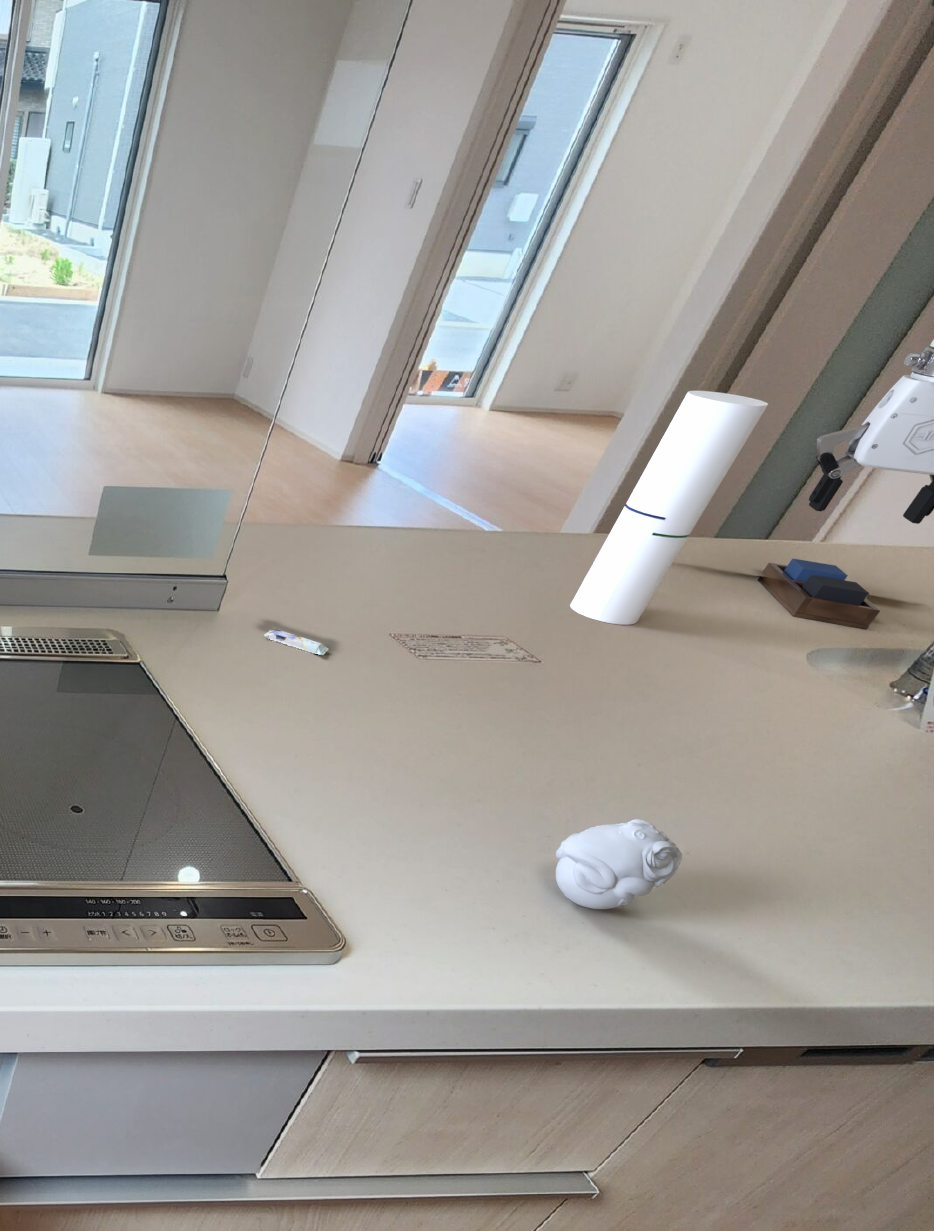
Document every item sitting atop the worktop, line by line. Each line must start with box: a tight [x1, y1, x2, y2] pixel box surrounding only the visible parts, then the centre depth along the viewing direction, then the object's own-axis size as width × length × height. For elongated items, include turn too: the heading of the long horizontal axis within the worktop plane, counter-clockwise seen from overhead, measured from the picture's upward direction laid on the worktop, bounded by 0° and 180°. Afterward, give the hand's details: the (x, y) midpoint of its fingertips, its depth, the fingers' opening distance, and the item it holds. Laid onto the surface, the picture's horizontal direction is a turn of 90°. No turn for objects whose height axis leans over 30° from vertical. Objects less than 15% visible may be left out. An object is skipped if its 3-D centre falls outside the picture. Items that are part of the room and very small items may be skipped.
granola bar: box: [263, 629, 329, 656], centre depth 106 cm, size 7×2×1 cm, turn 48°
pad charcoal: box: [801, 575, 870, 606], centre depth 122 cm, size 5×4×3 cm
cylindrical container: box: [569, 390, 769, 626], centre depth 111 cm, size 7×7×25 cm
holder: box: [757, 562, 881, 630], centre depth 125 cm, size 8×14×2 cm, turn 155°
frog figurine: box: [555, 818, 683, 910], centre depth 69 cm, size 6×7×7 cm
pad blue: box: [784, 558, 848, 582], centre depth 127 cm, size 5×4×3 cm
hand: (862, 514), depth 122 cm, fingers open, 9 cm apart
